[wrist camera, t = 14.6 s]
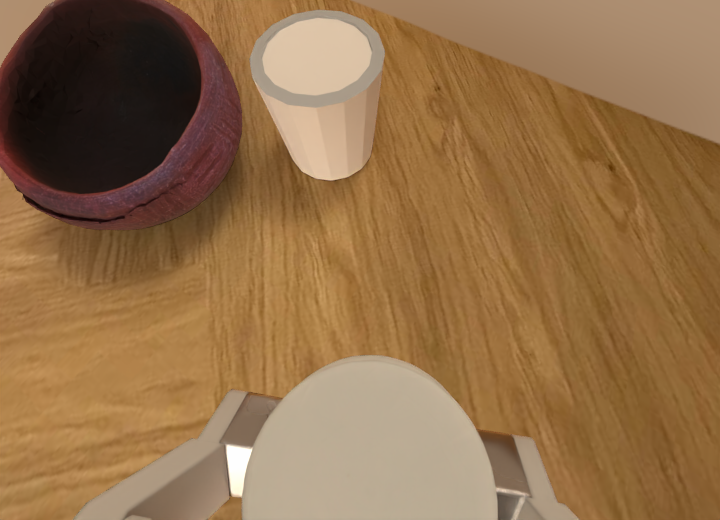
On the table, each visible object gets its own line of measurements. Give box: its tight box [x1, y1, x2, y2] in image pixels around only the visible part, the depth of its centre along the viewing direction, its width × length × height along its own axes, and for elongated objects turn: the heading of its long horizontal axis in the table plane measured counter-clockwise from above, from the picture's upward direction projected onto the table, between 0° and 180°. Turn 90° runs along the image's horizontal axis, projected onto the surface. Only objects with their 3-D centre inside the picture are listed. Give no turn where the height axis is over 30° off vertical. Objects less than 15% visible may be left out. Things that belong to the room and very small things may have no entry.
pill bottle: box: [242, 355, 498, 520], centre depth 9 cm, size 5×5×8 cm
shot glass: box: [249, 10, 385, 181], centre depth 21 cm, size 7×7×7 cm
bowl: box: [0, 0, 242, 230], centre depth 21 cm, size 16×13×8 cm
